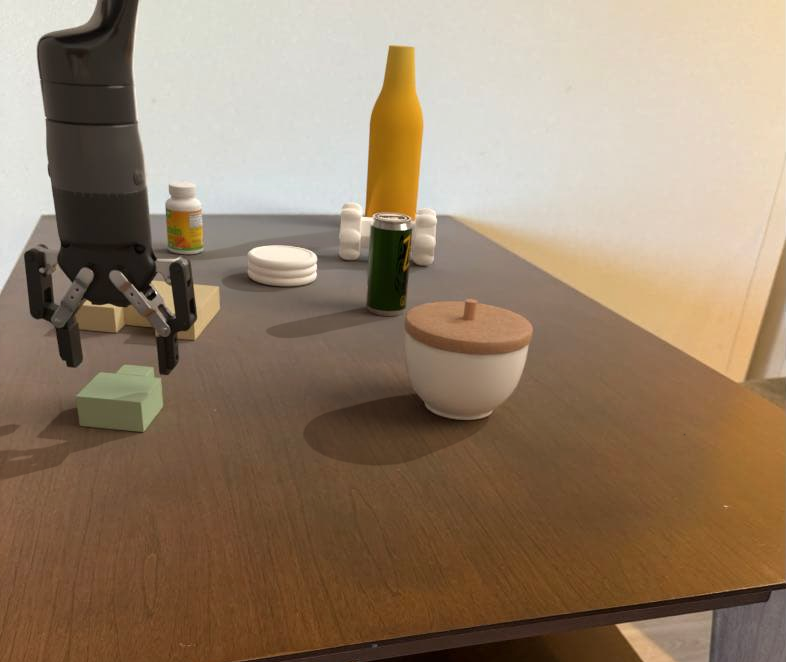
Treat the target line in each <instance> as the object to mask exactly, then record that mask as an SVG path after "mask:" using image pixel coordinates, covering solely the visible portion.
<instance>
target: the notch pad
mask: <svg viewBox="0 0 786 662" xmlns="http://www.w3.org/2000/svg"><path fill="white" fill-rule="evenodd" d="M151 283H152V284H153V285H154V287H155V288H156V289H157V290H158V292H159V293H160V294H161V296H162V297H163V299H164V303H165V304H166V306H167V307H168V308H169V309H170V311H171V312H172V313H173V314H174V315H175V309H174V301H173V294H172V287H171V286H170V285H168V284H167V283H166V282H165V280H163V281H161V280H154V279H153V280H152V282H151ZM193 285H194V294H195V302H196V310H197V320H196V322H195V323H194V324H193V325H192V326H191V327H190V329H189V330H188V331H180V332H178V333H177V336H178V340H185V341H187V340H188V341H196V340H197V338H198V337H199V336H200V335H201V334H202V332H203V331H204V330H205V329H206V328H207V326H208V325H209V324H210V322H211V321H212V320H213V319H214V317H215V316H216V315H217V314H218V313H219V311H220V310H221V302H220V286H216V285H206V284H197V283H193ZM75 322H78V325H79V331H80V330H81V331H92V332H102V333H103V332H104V333H114V334H117V333H118V332H119V331H120V330H121V329H122V328H123V327H124V326H133V327H144V328H154V327H153V326H152V325H151V324H150V322H149V321H148V320H147V319H146V318H144V317H142V316H141V315H140V314H139V313H138V312H137V310H136V309H135V308H134V307H133V305H129V306H128V307H127V308H126V307H117V306H114V305H111V304H105V305H92V303H91V302H90V301H88V300H86V301H85V303H84V304H83V305H82V307H81V308H80V310H79V311H78V313H77V314H76V316H75ZM154 335H155V337H156V336H157V335H158V332H157V331H156V330H155V329H154Z"/></svg>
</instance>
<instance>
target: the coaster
mask: <svg viewBox="0 0 786 662" xmlns="http://www.w3.org/2000/svg"><path fill="white" fill-rule="evenodd" d="M246 257H247V263H246V264H247V268H248V269H247V276H248V277H249V278H250V279H251V280H252V281H254V282H256V283H259V284H263V285H266V286H274V287H298V286H306V285H309V284H312V283H313V282H314V281H315V280H316V279H317V277H318V273H317V270H318V265H317V262H318V256H317V255H316V253H315V252H313V251H311V250H310V249H307V248H304V247H298V246H292V245H282V244H281V245H280V244H274V245H263V246H257V247H254V248H252V249H251V250H249V251H248V252H247V255H246Z"/></svg>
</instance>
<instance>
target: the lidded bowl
mask: <svg viewBox="0 0 786 662" xmlns="http://www.w3.org/2000/svg"><path fill="white" fill-rule="evenodd" d="M533 329H534V328H533V326H532V324H531V322H530V321H529V320H528V319H527V318H525V317H524V316H522V315H521V314H518V313H516V312H514V311H512V310H509V309H506V308H503V307H498V306H495V305H490V304H485V303H479V302H478V300H476V299H474V298H468V299H467V298H466V299H465V300H464V301H458V300H456V301H455V300H452V301H451V300H450V301H449V300H448V301H446V300H445V301H434V302H427V303H423V304H420V305H417V306H413V307H412V308H411V309H409V310H408V311H407V313H405V317H404V330H405V333H404V348H403V349H404V363H405V369H406V374H407V378H408V380H409V383H410V385H411V387H412V389H413V390H414V392H415V393H416V394H417V396H418V397H419V398H420V399H421V400H422V401H423V402H424V407H425V408H426V409H427V410H428V411H429V412H431V413H433V414H435V415H437V416H440V417H443V418H447V419H451V420H452V419H453V420H457V421H460V420H461V421H474V420H475V421H476V420H480V419H484V418H486V417H489V416H491V414H492V413H493V411H494V410H495V409H497V408H498V407H500V406H501V405H502V404H504V403H505V402H506V401H507V400H508V399H509V397H510V396H511V395H512V394H513V393H514V391H515V390H516V388H517V387H518V385H519V382H520V380H521V378H522V376H523V373H524V369H525V367H526V362H527V358H528V353H529V348H530V343H531V341H532V336H533V333H534V330H533Z"/></svg>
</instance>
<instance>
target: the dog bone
mask: <svg viewBox="0 0 786 662" xmlns="http://www.w3.org/2000/svg"><path fill="white" fill-rule="evenodd" d="M363 212H364V210H363V207H362V206H361V204H358V203H357V202H346V203H344V204H343V205H342V206H341V211H340V214H339V217H340V228H339V230H340V231H339V234H338V239H339V249H338V255H339V257H340V258H341V259H343V260H346V261H355V260H358V258H360V257H361V249H369V242H370V224H371V222H372V220H373V218H370V217H365V216H363ZM411 224H412V227H413V228H412V240H411V252H410V253H411V254H412V261H413V262H414V264H416V265H417V266H421V267H423V266H424V267H425V266H429V265H431V264H432V263H433V262H434V260H435V257H434V255H435V254H434V252H435V247H436V244H437V241H436V233H437V232H436V231H437V224H438V219H437V213H436V211H435V210H434V209H431V208H428V207H422V208H420V209H418V210H416V214H415V221H411Z"/></svg>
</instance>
